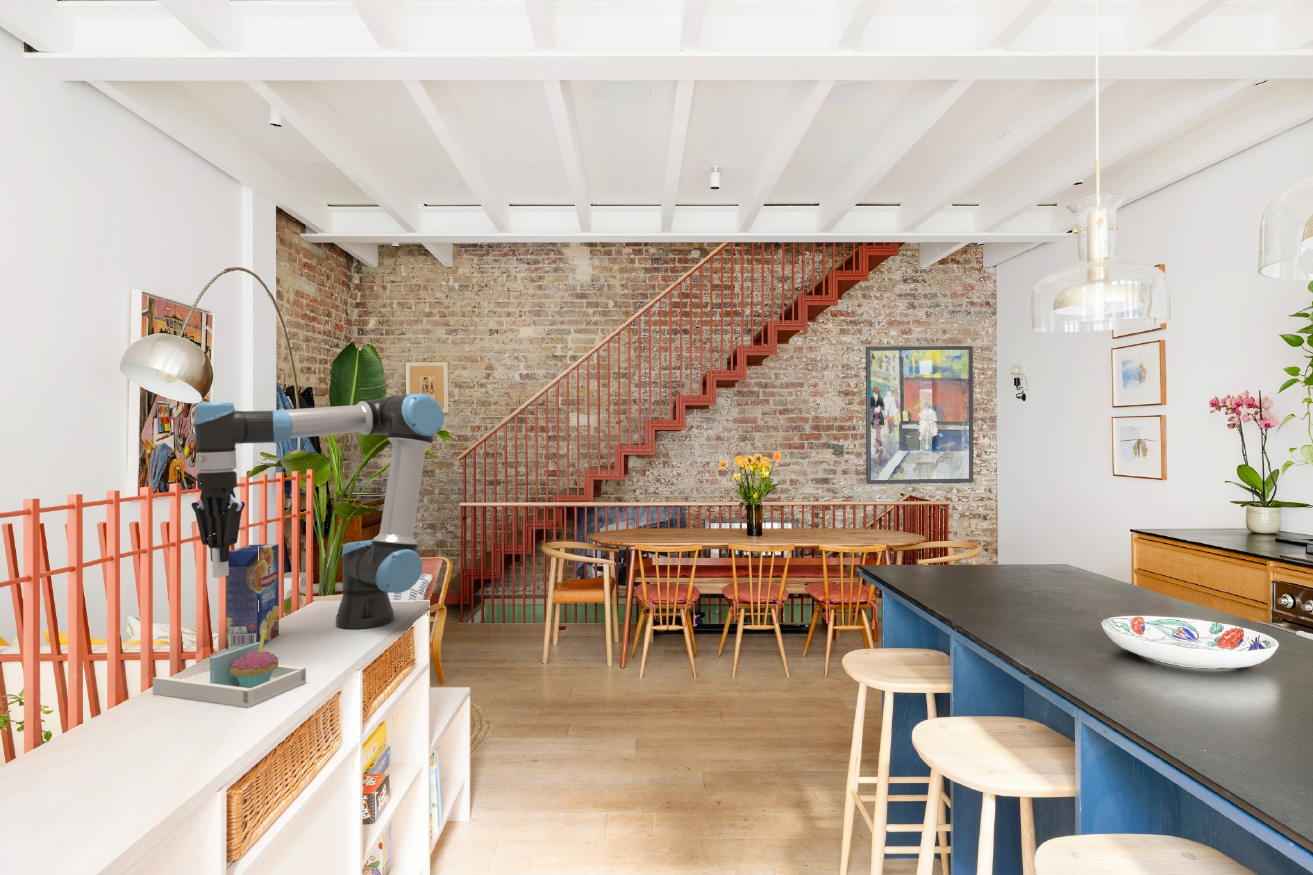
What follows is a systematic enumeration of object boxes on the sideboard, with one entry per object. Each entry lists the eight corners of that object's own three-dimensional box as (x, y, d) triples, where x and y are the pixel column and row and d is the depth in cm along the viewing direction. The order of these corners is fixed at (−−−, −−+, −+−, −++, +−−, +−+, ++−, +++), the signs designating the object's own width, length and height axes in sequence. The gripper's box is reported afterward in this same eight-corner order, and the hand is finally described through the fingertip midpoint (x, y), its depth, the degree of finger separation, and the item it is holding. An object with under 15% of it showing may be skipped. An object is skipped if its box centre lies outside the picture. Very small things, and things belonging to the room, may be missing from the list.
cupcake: (263, 677, 146) (263, 621, 146) (287, 684, 142) (287, 626, 142) (221, 690, 138) (221, 630, 138) (245, 698, 134) (245, 636, 134)
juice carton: (258, 648, 169) (258, 551, 170) (226, 649, 169) (225, 552, 169) (279, 634, 181) (278, 544, 181) (249, 636, 180) (248, 544, 181)
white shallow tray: (216, 671, 152) (215, 657, 152) (305, 682, 145) (305, 667, 145) (152, 693, 139) (152, 678, 139) (248, 707, 131) (247, 690, 131)
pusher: (243, 673, 148) (243, 640, 148) (261, 675, 146) (261, 642, 147) (195, 691, 138) (195, 655, 138) (214, 694, 136) (214, 658, 136)
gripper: (178, 472, 151) (182, 578, 152) (224, 472, 148) (228, 581, 148) (209, 470, 159) (213, 571, 159) (254, 469, 155) (257, 573, 155)
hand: (220, 576), depth 154 cm, fingers closed
